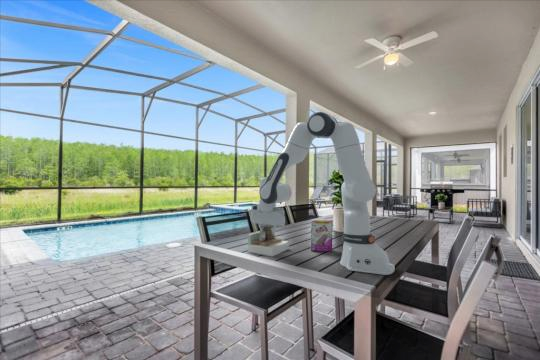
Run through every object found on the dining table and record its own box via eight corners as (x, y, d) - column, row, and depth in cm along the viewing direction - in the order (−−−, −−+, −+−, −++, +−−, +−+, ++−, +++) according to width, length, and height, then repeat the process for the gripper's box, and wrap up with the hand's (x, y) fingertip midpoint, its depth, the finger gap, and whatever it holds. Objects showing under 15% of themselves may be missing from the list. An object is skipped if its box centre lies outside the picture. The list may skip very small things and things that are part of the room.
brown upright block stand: (281, 241, 144) (281, 225, 144) (266, 246, 132) (266, 229, 132) (268, 239, 149) (268, 224, 149) (252, 244, 138) (252, 227, 138)
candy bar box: (311, 251, 139) (311, 220, 139) (310, 248, 144) (310, 219, 144) (332, 252, 138) (332, 220, 138) (331, 249, 143) (331, 219, 143)
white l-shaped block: (288, 248, 143) (288, 232, 143) (272, 256, 129) (272, 238, 129) (265, 245, 152) (265, 229, 152) (247, 251, 137) (248, 234, 137)
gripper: (287, 207, 138) (287, 233, 138) (255, 205, 149) (255, 229, 149) (281, 208, 133) (281, 236, 133) (248, 206, 144) (248, 231, 144)
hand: (267, 232), depth 141 cm, fingers open, 5 cm apart
